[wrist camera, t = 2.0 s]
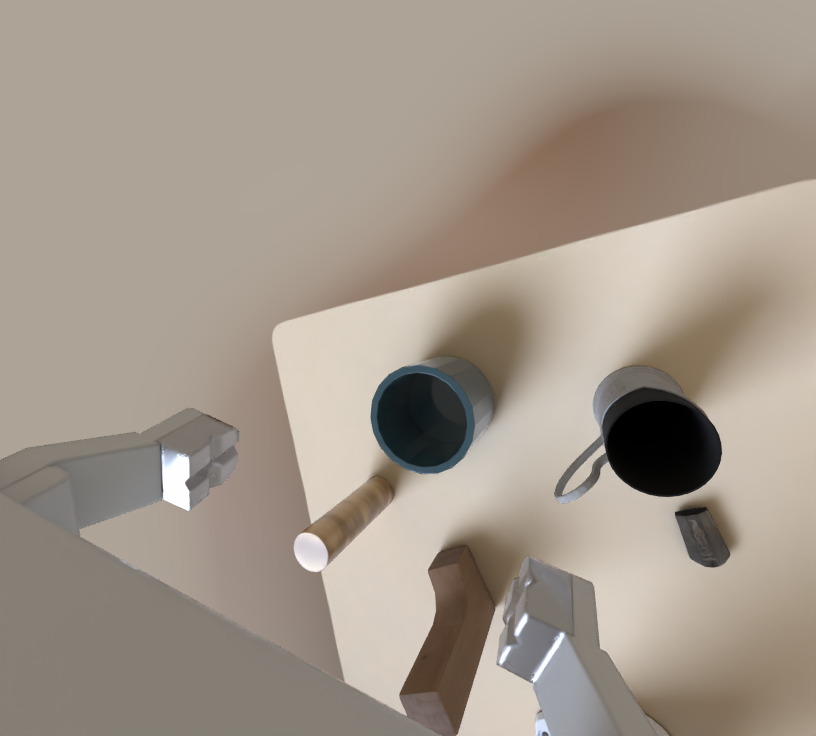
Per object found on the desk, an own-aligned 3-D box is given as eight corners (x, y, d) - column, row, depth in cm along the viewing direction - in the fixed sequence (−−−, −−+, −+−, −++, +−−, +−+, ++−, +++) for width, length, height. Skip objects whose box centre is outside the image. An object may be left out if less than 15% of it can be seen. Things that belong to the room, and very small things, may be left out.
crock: (485, 456, 52) (464, 487, 43) (401, 433, 56) (365, 457, 47) (501, 365, 50) (482, 377, 41) (412, 348, 54) (376, 356, 45)
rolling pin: (391, 511, 58) (326, 578, 44) (363, 501, 60) (291, 563, 45) (394, 482, 58) (330, 540, 43) (366, 473, 59) (295, 526, 44)
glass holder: (706, 414, 43) (764, 464, 29) (588, 487, 48) (589, 558, 34) (645, 348, 44) (672, 366, 30) (537, 427, 49) (518, 471, 36)
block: (705, 502, 44) (710, 510, 42) (731, 556, 43) (737, 566, 42) (667, 511, 45) (671, 519, 43) (692, 563, 45) (697, 573, 43)
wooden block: (437, 551, 56) (376, 650, 40) (467, 543, 55) (415, 644, 38) (466, 614, 56) (416, 741, 39) (496, 608, 54) (458, 738, 38)
